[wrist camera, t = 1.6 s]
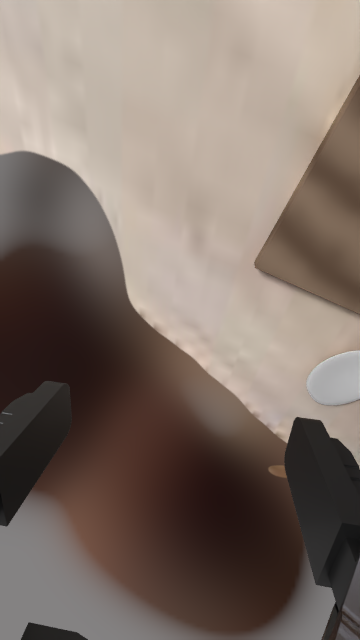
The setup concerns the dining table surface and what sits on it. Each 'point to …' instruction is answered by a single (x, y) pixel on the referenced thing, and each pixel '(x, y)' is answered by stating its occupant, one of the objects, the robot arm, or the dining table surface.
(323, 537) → the robot arm
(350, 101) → the walnut board
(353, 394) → the spoon
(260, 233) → the dining table surface
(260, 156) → the dining table surface
